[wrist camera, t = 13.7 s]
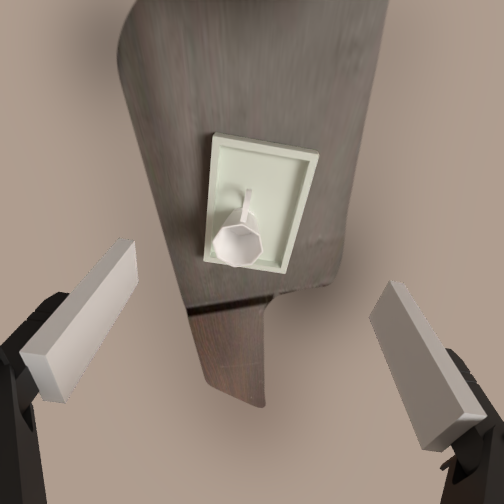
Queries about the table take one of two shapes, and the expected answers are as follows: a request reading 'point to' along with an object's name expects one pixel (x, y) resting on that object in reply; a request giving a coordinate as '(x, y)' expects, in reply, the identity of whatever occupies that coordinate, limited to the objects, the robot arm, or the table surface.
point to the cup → (239, 237)
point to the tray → (259, 193)
